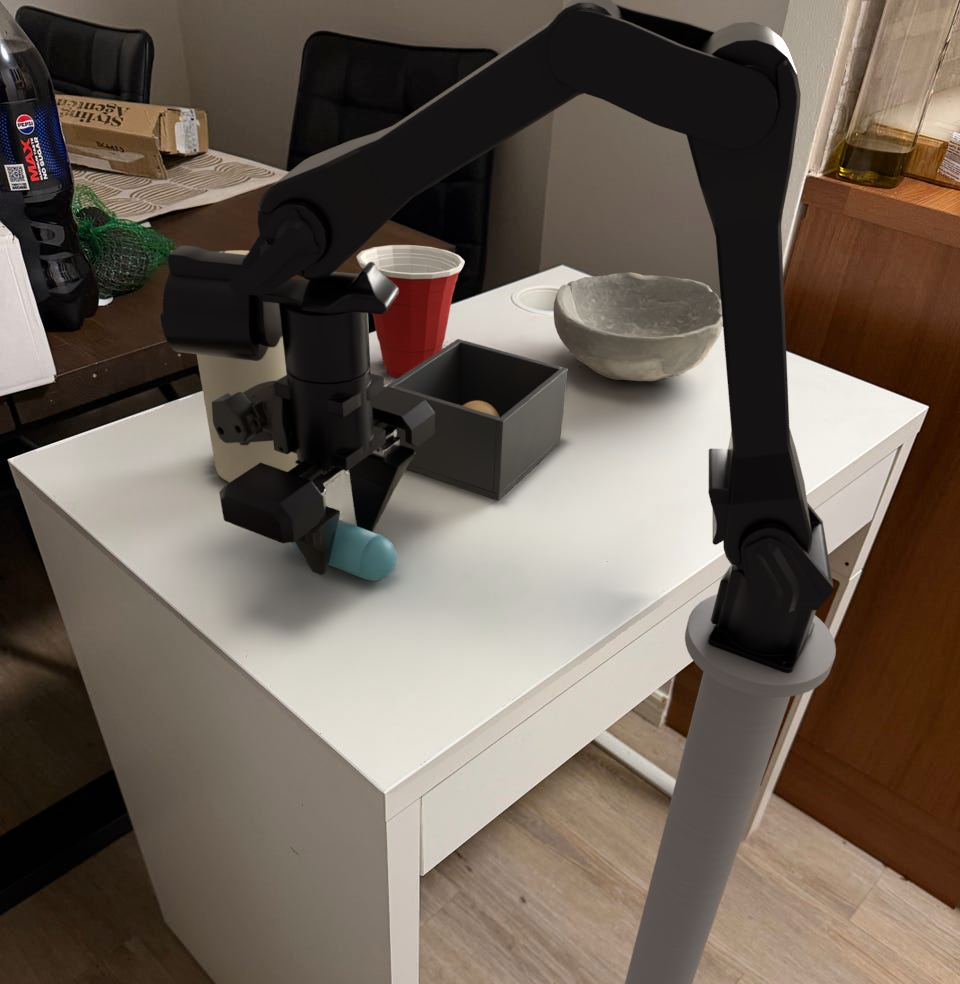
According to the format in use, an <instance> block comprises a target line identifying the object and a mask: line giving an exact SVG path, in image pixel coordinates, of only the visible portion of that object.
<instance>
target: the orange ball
mask: <svg viewBox="0 0 960 984" xmlns="http://www.w3.org/2000/svg"><path fill="white" fill-rule="evenodd" d="M463 406H464V407H467V408H471V409H474V410H477V411H481V412H484V413H487V414H491V415H494V416H497V417H499V414H498V412H497V411H496V410H495V408H494V407H493V406H491V405H490V404H488V403H486V402H483V401H471V402H468V403H466V404H464V405H463Z"/></svg>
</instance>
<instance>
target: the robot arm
mask: <svg viewBox="0 0 960 984" xmlns="http://www.w3.org/2000/svg"><path fill="white" fill-rule="evenodd" d="M584 94H585V95H588V96H591V97H594V98H598V99H601V100H603V101H606V102H607V103H609V104H612V105H614V106H615V107H618V108H619V109H622V110H624V111H626V112H628V113H630V114H632V115H634V116H637V117H639V118H640V119H643V120H644V121H646V122H648V123H651V124H654V125H656V126H658V127H661V128H664V129H667V130H670V131H673V132H676V133H680V134H683V135H685V136H686V139H687V141H688V146H689V150H690V154H691V157H692V161H693V165H694V169H695V172H696V176H697V180H698V184H699V187H700V190H701V193H702V196H703V200H704V202H705V205H706V209H707V212H708V214H709V218H710V220H711V224H712V228H713V231H714V236H715V244H716V257H717V268H718V269H717V270H718V280H719V293H720V300H721V308H722V320H723V324H722V332H723V343H724V344H723V345H724V355H725V368H726V379H727V380H726V381H727V391H728V392H727V395H728V406H729V417H730V418H729V419H730V429H731V430H730V435H729V436H730V437H729V442H728V448H709V449H708V487H707V488H708V490H707V491H708V496H709V500H710V505H711V509H712V515H711V517H712V518H711V519H712V544H713V545H714V546H716V545H718V544H720V543H723V544H722V545H723V547H722V548H723V551H724V554H725V557H726V560H727V561H728V562H729V563H730V566H729V567H728V568H727V570H726V572H725V573H724V575H723V576H722V578H721V579H720V582H719V585H718V590H717V593H716V595H717V597H716V601H715V605H714V609H713V613H712V617H711V622H712V624H715V625H716V626H715V627H714V629H713V631H712V632H711V634H710V635H709V639H708V643H709V644H710V645H711V646H713V647H716V648H719V649H722V650H724V651H727V652H730V653H732V654H735V655H738V656H741V657H743V658H746V659H749V660H752V661H754V662H757V663H760V664H762V665H765V666H768V667H771V668H773V669H776V670H779V671H781V672H784V673H791V672H792V671H793V670H794V668H795V666H796V664H797V662H798V660H799V657H800V655H801V653H802V651H803V649H804V647H805V645H806V643H807V641H808V639H809V637H810V635H811V633H812V631H813V628H814V623H813V622H812V621H813V619H814V616H816V613H817V611H818V610H819V609H820V608H821V607H822V606H823V605H824V603H825V602H826V601H827V600H828V599H829V598H830V597H831V596H832V594H834V591H835V589H834V582H833V577H832V570H831V564H830V563H831V562H830V558H829V557H830V556H829V552H828V545H827V540H826V534H825V527H824V521H823V520H822V518H821V517H820V515H818V514H817V512H816V511H815V509H814V508H813V507H812V506H811V505H810V504H809V502H808V498H807V492H806V485H805V479H804V476H803V472H802V468H801V463H800V459H799V456H798V452H797V447H796V445H795V441H794V438H793V435H792V431H791V427H790V411H789V410H790V409H789V406H790V405H789V386H788V383H789V382H788V361H787V357H788V356H787V336H786V312H785V311H786V309H785V307H786V306H785V284H784V283H785V282H784V262H783V260H784V259H783V238H782V237H783V236H782V233H783V232H782V222H783V221H782V220H783V213H784V208H785V203H786V196H787V192H788V187H789V182H790V178H791V173H792V166H793V161H794V152H795V145H796V138H797V130H798V123H799V116H800V110H801V109H800V108H801V98H802V97H801V95H802V94H801V89H800V83H799V78H798V73H797V69H796V67H795V64H794V61H793V59H792V56H791V53H790V51H789V48H788V47H787V44H786V43H785V41H784V40H783V38H782V36H780V35H779V34H778V33H776V32H774V31H773V30H772V29H771V28H770V27H768V26H766V25H763V24H760V23H757V22H753V21H744V22H734V23H732V24H729V25H727V26H725V27H722V28H720V29H717V30H716V31H714V30H712V29H709V28H706V27H703V26H700V25H696V24H693V23H691V22H688V21H684V20H680V19H676V18H671V17H667V16H663V15H659V14H655V13H651V12H646V11H642V10H638V9H635V8H630V7H627V6H624V5H621V4H618V3H616V2H614V1H612V0H570V1H569V2H568V3H566V4H565V6H564V7H563V8H562V9H561V10H560V11H559V13H557V15H556V16H555V17H554V18H552V19H551V20H549V21H548V22H546V23H545V24H543V25H541V26H540V27H539V28H537V29H535V30H534V31H533V32H531V33H530V34H527V36H525V37H524V38H522V39H521V40H519V41H518V42H516V43H515V44H513V45H512V46H510V47H508V48H507V49H506V50H504V51H503V52H501V53H500V54H498V55H497V56H495V57H494V58H492V59H490V60H489V61H488V62H487V63H485V64H483V65H482V66H480V67H479V68H477V69H476V70H474V71H473V72H471V73H470V74H468V75H467V76H465V77H464V78H462V79H460V80H459V81H458V82H457V83H455V84H453V85H452V86H450V87H449V88H447V89H446V90H444V91H443V92H441V93H440V94H439V95H437V96H435V97H433V99H431V100H429V101H428V102H426V103H425V104H422V106H420V107H419V108H418V109H416V110H414V111H412V112H411V113H410V114H408V115H407V116H406V117H404V118H403V119H401V120H399V121H398V122H397V123H395V124H393V125H391V126H389V127H387V128H384V129H380V130H379V131H376V132H373V133H370V134H367V135H364V136H361V137H357V138H354V139H351V140H348V141H346V142H343V143H341V144H339V145H336V146H333V147H330V148H328V149H326V150H323V151H321V152H319V153H316V154H314V155H312V156H309V157H308V158H305V159H304V160H303V161H301V162H300V163H298V164H297V165H296V166H295V167H294V168H292V169H291V170H290V171H288V172H287V173H286V174H285V175H283V177H281V178H280V179H278V180H277V181H276V182H275V183H274V184H272V185H271V186H270V187H269V188H267V190H266V191H265V192H264V193H263V194H262V196H261V198H260V200H259V202H258V204H257V208H258V212H257V226H258V232H259V235H258V237H257V238H256V240H255V241H254V243H253V245H252V246H251V248H250V250H248V251H249V253H248V254H246V255H243V254H233V253H223V252H222V251H212V250H208V249H204V248H201V247H199V246H193V245H180V246H178V247H177V248H176V249H174V250H173V251H172V252H170V253H168V256H167V257H166V259H167V266H168V271H169V273H168V276H167V277H166V280H165V284H164V289H163V297H162V312H161V313H160V324H161V329H162V332H163V336H164V338H165V340H166V342H167V344H168V345H169V347H170V348H171V350H172V351H174V352H175V353H181V354H182V353H183V354H191V355H197V354H199V355H208V356H217V357H226V358H234V359H243V360H252V361H259V360H261V359H262V358H263V357H264V356H265V354H266V352H267V350H268V347H275V346H277V344H278V343H279V340H280V338H281V334H282V337H283V346H284V356H285V365H286V374H287V375H286V376H284V377H282V378H280V379H279V380H276V381H268V382H264V383H261V384H258V385H256V386H254V387H252V388H250V389H248V390H247V391H245V392H243V393H242V392H237V393H236V394H234V395H232V396H231V394H229V393H228V394H225V395H223V396H221V397H220V398H218V399H216V400H214V401H212V416H213V424H214V427H215V429H216V431H217V434H218V436H219V438H220V439H221V440H222V441H223V442H225V443H239V444H240V445H249V444H250V442H262V441H273V444H274V450H275V451H278V452H281V453H284V454H289V453H291V452H293V453H296V454H297V458H298V460H297V461H296V462H295V464H296V466H295V467H294V468H293V469H291V470H290V471H288V472H286V471H283V470H280V469H278V468H275V467H272V466H269V465H266V464H264V463H261V462H260V463H259V464H257V465H256V466H254V467H253V468H251V469H250V470H248V471H247V472H245V473H243V474H242V475H240V476H239V477H237V478H236V479H234V480H233V481H231V482H228V483H227V484H226V485H225V486H224V487H222V488H221V489H220V490H219V501H220V505H221V512H222V518H223V521H224V522H226V523H229V524H231V525H234V526H237V527H240V528H242V529H245V530H246V531H249V532H252V533H254V534H257V535H259V536H263V537H265V538H266V539H267V538H268V539H270V540H273V541H275V542H277V543H280V544H289V543H290V544H291V542H295V543H296V545H297V547H298V548H299V550H300V552H301V553H302V554H301V553H300V554H301V555H302V557H303V559H304V560H305V562H306V564H307V566H308V567H309V569H310V571H311V572H312V573H314V574H317V575H319V576H324V575H325V574H326V573H327V571H328V567H329V565H328V564H329V561H330V557H331V552H332V548H333V543H334V539H335V534H336V530H337V526H338V521H339V520H340V516H341V510H339V509H337V508H333V507H331V506H328V505H326V494H327V489H326V487H327V486H328V485H329V484H330V483H332V482H333V481H334V480H336V479H338V478H339V477H340V476H342V475H343V474H344V473H346V472H348V475H349V481H350V489H351V491H350V492H351V497H352V504H353V505H352V506H353V513H354V520H355V523H356V524H355V525H356V526H358V527H360V528H363V529H366V530H368V531H371V532H374V531H375V529H376V528H377V525H378V524H379V521H380V519H381V518H382V515H383V513H384V512H385V509H386V507H387V506H388V503H389V502H390V499H391V498H392V496H393V495H394V494H393V493H394V492H395V490H396V488H397V486H398V485H399V483H400V481H401V479H402V477H403V475H404V473H405V471H406V470H407V469H406V468H407V466H408V464H409V463H410V461H411V460H413V459H414V457H415V450H413V449H411V448H408V447H405V446H402V445H400V438H399V437H397V428H400V429H404V430H405V441H406V442H407V443H408V444H410V445H411V446H413V447H416V448H418V447H419V446H421V445H422V444H423V443H425V442H426V441H427V440H428V439H430V438H431V437H432V436H434V435H435V412H434V411H433V410H432V408H431V407H430V405H429V404H428V403H427V401H426V400H425V399H422V398H419V397H416V396H412V395H409V394H406V393H402V392H399V391H396V390H392V389H389V388H386V386H385V379H384V376H382V375H380V374H376V373H372V369H371V351H370V350H371V349H370V329H369V314H370V315H371V314H372V315H373V314H380V315H381V314H385V313H386V311H387V310H388V308H389V307H390V305H391V304H392V302H393V301H394V300H395V298H396V297H397V295H398V294H399V288H398V287H397V286H396V285H395V284H394V283H393V282H392V281H391V280H390V279H388V278H387V277H386V276H384V275H383V274H382V273H381V272H380V271H379V270H378V269H377V267H376V265H375V264H374V263H373V262H369V263H368V264H367V265H366V266H365V268H364V269H363V270H362V269H361V271H360V272H357V273H353V272H345V271H343V272H342V271H337V270H338V269H339V268H340V267H341V266H342V265H343V264H345V263H346V261H348V260H349V259H350V258H351V257H352V256H353V255H354V254H355V253H357V251H359V249H360V248H362V247H363V246H364V245H365V244H366V243H367V242H368V241H369V240H370V239H371V238H372V237H373V236H374V235H375V234H377V232H378V231H379V230H380V229H381V228H382V227H383V226H384V225H385V224H387V222H389V221H390V219H391V218H393V217H394V216H395V215H396V214H397V213H398V212H399V211H400V210H401V209H402V208H403V207H404V206H405V205H407V203H408V202H410V200H412V199H413V198H415V197H417V196H418V195H420V194H421V193H423V192H424V191H426V190H428V189H429V188H431V187H433V186H434V185H436V184H437V183H439V182H441V181H443V180H444V179H445V178H447V177H449V176H451V175H452V174H454V173H456V172H457V171H458V170H461V168H463V167H465V166H466V165H468V164H470V163H471V162H473V161H475V160H476V159H478V158H480V157H481V156H482V155H485V154H487V153H488V152H489V151H491V150H492V149H494V148H496V147H498V146H499V145H501V144H503V143H504V142H505V141H507V140H508V139H510V138H512V137H513V136H515V135H517V134H519V133H520V132H521V131H523V130H526V128H528V127H530V126H531V125H533V124H534V123H537V122H539V121H540V120H541V119H543V118H545V117H546V116H548V115H549V114H551V113H552V112H554V111H556V110H558V109H559V108H561V107H562V106H564V105H565V104H567V103H569V102H570V101H572V100H573V99H575V98H576V97H578V96H581V95H584ZM296 276H299V277H302V278H294V277H296ZM374 533H375V532H374ZM786 666H787V667H786Z"/></svg>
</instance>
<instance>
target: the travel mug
mask: <svg viewBox="0 0 960 984" xmlns="http://www.w3.org/2000/svg"><path fill="white" fill-rule="evenodd" d="M249 251H250V250H245V249H244V250H243V249H242V250H241V249H240V250H237V249H236V250H235V249H234V250H223V251H221V252H223V253H233V254H243V255H246V254H248V253H249ZM196 358H197V365H198V372H199V377H200V382H201V383H200V384H201V388H202V389H201V390H202V395H203V401H204V407H205V412H206V420H207V425H208V431H209V437H210V442H211V443H210V444H211V448H212V453H213V454H212V455H213V460H214V466H215V467H214V468H215V471H216V473H217V475H218V476H219V477H220V478H221V479H222V480H224V481H226V482H228V483H230V482H231V481H233V480H234V479H236V478H237V477H239V476H240V475H242V474H243V473H245V472H247V471H248V470H250V469H251V468H253V467H254V466H256V465H257V464H259V463H260V462H261V463H264V464H266V465H269V466H272V467H275V468H278V469H280V470H283V471H286V472H288V471H290V470H291V469H293V468H294V467H295V466H296V464H295V462H296V461H297V460H298V458H297V454H296V453H293V452H291V453H289V454H284V453H281V452H278V451H275V450H274V444H273V441H262V442H250V444H249V445H240V444H239V443H225V442H223V441H222V440H221V439H220V438H219V436H218V434H217V431H216V429H215V427H214V424H213V416H212V401H214V400H216V399H218V398H220V397H221V396H223V395H225V394H228V393H229V394H231V396H232V395H234V394H236V393H237V392H242V393H243V392H245V391H247V390H248V389H250V388H252V387H254V386H256V385H258V384H261V383H264V382H268V381H276V380H279V379H280V378H282V377H284V376H286V375H287V374H286V365H285V356H284V346H283V337H282V334H281V338H280V340H279V343H278V344H277V346H275V347H268V350H267V352H266V354H265V356H264V357H263V358H262V359H261V360H259V361H252V360H243V359H234V358H226V357H217V356H208V355H199V354H196Z"/></svg>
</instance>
